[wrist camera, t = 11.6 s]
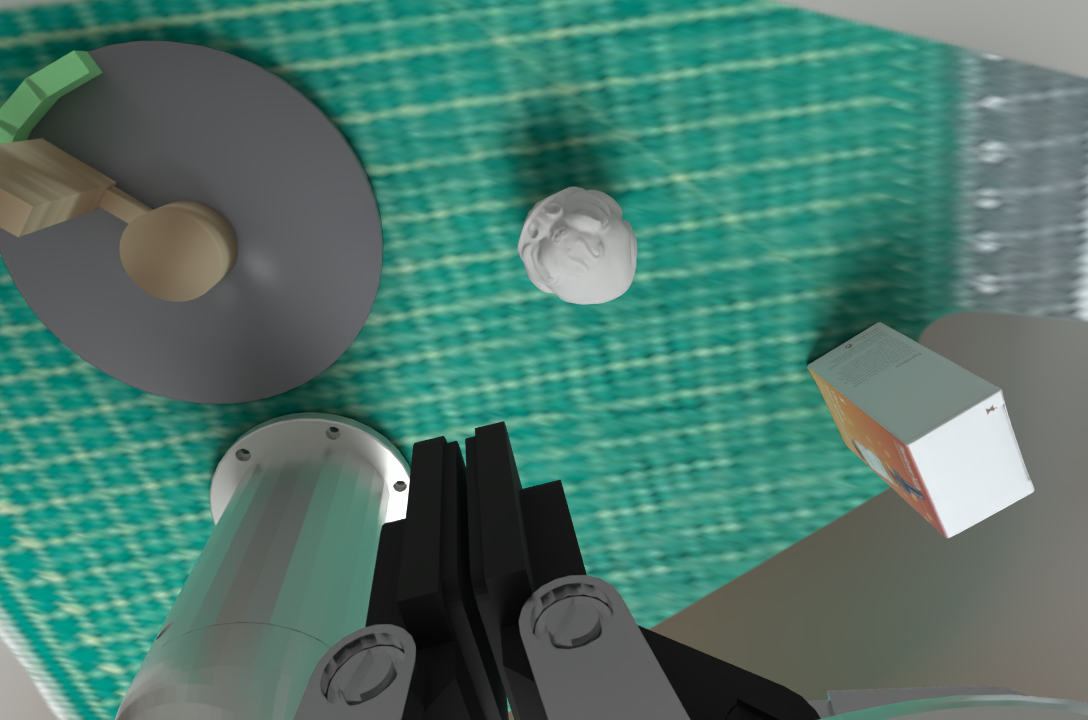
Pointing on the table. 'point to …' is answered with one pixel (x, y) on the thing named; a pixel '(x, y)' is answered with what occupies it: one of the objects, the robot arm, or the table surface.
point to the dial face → (219, 182)
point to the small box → (924, 427)
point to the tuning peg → (151, 235)
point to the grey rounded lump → (579, 246)
